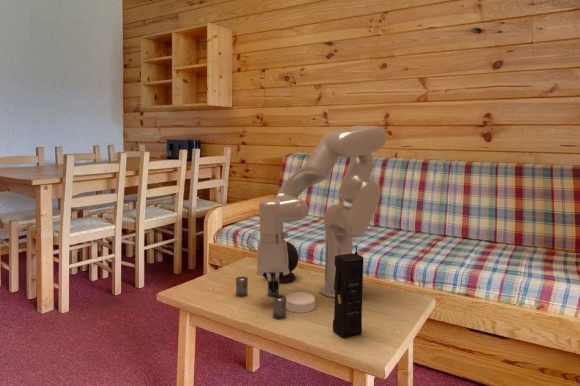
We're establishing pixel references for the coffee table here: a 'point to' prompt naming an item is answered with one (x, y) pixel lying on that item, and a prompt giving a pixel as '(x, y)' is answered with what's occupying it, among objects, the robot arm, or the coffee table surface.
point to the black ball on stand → (289, 265)
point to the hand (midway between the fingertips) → (273, 291)
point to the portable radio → (348, 294)
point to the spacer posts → (278, 301)
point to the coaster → (300, 302)
